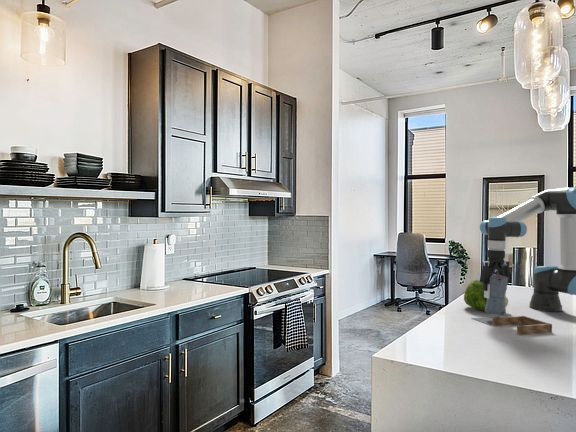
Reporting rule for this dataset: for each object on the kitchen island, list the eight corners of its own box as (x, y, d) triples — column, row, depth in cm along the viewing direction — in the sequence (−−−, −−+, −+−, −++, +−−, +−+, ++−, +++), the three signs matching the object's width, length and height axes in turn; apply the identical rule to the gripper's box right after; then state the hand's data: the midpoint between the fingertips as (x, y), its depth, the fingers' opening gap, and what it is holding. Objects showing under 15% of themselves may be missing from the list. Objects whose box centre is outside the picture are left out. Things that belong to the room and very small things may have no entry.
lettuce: (498, 321, 212) (510, 293, 210) (457, 302, 223) (468, 275, 222) (502, 319, 225) (514, 293, 224) (463, 301, 237) (474, 276, 235)
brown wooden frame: (523, 323, 199) (523, 315, 199) (551, 332, 184) (552, 324, 184) (492, 325, 193) (492, 317, 193) (519, 335, 179) (519, 326, 179)
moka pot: (487, 315, 195) (490, 271, 195) (479, 308, 210) (482, 267, 210) (510, 317, 193) (512, 273, 193) (500, 310, 208) (502, 269, 208)
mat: (498, 316, 210) (498, 316, 210) (518, 323, 198) (518, 322, 198) (470, 318, 205) (470, 318, 205) (490, 325, 193) (490, 325, 193)
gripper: (508, 248, 208) (506, 294, 208) (471, 248, 202) (470, 296, 202) (520, 250, 201) (519, 298, 201) (483, 250, 194) (481, 299, 195)
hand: (494, 297), depth 201 cm, fingers closed on moka pot, 8 cm apart
